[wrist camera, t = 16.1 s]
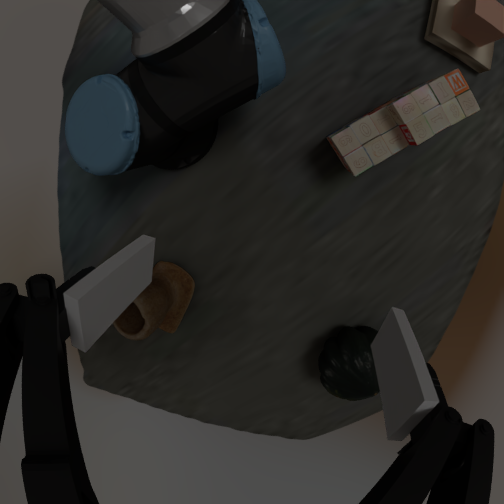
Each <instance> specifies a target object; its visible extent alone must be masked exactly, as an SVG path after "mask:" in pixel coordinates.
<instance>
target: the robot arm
mask: <svg viewBox="0 0 504 504" xmlns="http://www.w3.org/2000/svg"><path fill="white" fill-rule="evenodd" d="M97 1H99V2H100V3H101V4H102V5H103V6H104V7H105V8H106V9H108V10H109V11H110V12H111V13H112V14H113V15H114V16H115V17H116V18H118V19H119V20H120V21H121V22H122V23H123V24H124V25H125V26H126V27H127V28H128V29H129V30H130V31H131V32H132V44H131V52H132V54H133V55H134V56H135V57H136V58H137V59H136V60H134V61H133V62H132V63H130V64H129V65H128V66H127V67H125V68H124V69H123V70H122V71H120V72H119V73H118V74H116V75H112V74H104V75H99V76H94V77H92V78H90V79H88V80H87V81H85V82H84V83H83V84H82V85H81V86H80V87H79V88H78V89H77V90H76V92H75V93H74V95H73V97H72V99H71V101H70V103H69V106H68V109H67V113H66V124H65V137H66V142H67V146H68V149H69V151H70V153H71V155H72V157H73V159H74V160H75V162H76V163H77V164H78V165H79V166H80V167H81V168H82V169H83V170H85V171H86V172H89V173H92V174H93V175H99V176H103V175H118V174H120V173H123V172H124V171H128V170H131V169H135V168H139V167H143V166H147V165H153V166H156V167H158V168H162V169H168V170H174V169H180V168H184V167H188V166H190V165H192V164H194V163H196V162H198V161H199V160H200V159H202V158H203V157H204V156H205V155H206V154H207V152H208V151H209V150H210V148H211V147H212V145H213V143H214V140H215V137H216V134H217V127H218V120H217V118H218V117H220V116H222V115H224V114H226V113H228V112H229V111H231V110H233V109H235V108H237V107H239V106H241V105H243V104H245V103H246V102H248V101H250V100H252V99H254V100H255V99H258V97H260V95H261V94H263V93H265V92H266V91H268V90H270V89H272V88H274V87H276V86H278V85H279V84H280V83H281V82H282V81H283V79H284V77H285V74H286V65H285V60H284V56H283V53H282V50H281V47H280V44H279V42H278V39H277V37H276V34H275V32H274V30H273V28H272V26H271V25H270V24H269V21H268V19H267V17H266V14H265V12H264V10H263V9H262V7H261V5H260V4H259V3H258V1H257V0H97ZM154 248H155V238H153V237H150V236H146V235H142V236H141V237H139V238H138V239H136V240H135V241H133V242H132V243H130V244H129V245H128V246H126V247H125V248H123V249H122V250H120V251H119V252H118V253H116V254H115V255H113V256H112V257H111V258H109V259H108V260H107V261H105V262H104V263H102V264H101V265H100V266H98V267H97V268H95V267H92V266H91V267H88V268H85V269H82V270H81V271H80V272H78V273H77V274H76V275H75V276H73V277H71V278H70V280H67V281H66V282H65V283H63V284H62V285H61V286H60V287H58V288H57V289H56V286H55V280H54V278H53V277H52V276H50V275H47V274H36V275H34V276H31V277H30V278H29V279H28V280H27V281H26V283H25V284H26V289H27V295H28V297H26V296H22V295H19V294H18V289H17V286H16V285H14V284H12V283H2V284H0V441H1V435H2V429H3V425H4V420H5V416H6V412H7V407H8V403H9V400H10V396H11V392H12V388H13V385H14V381H15V378H16V375H17V371H18V368H19V365H20V362H21V359H22V356H23V362H22V414H23V415H22V416H23V431H24V442H25V451H26V456H25V458H23V459H22V462H21V467H22V468H21V469H22V475H23V482H24V487H25V492H26V497H27V501H28V504H99V502H98V500H97V497H96V495H95V493H94V491H93V489H92V486H91V483H90V480H89V477H88V473H87V470H86V466H85V462H84V458H83V454H82V451H81V446H80V442H79V437H78V432H77V428H76V422H75V417H74V411H73V404H72V398H71V391H70V383H69V374H68V364H67V353H66V343H65V340H66V339H67V338H68V337H69V336H70V337H71V343H72V346H74V347H76V348H78V349H80V350H81V351H83V352H85V353H86V352H87V351H88V349H89V348H90V347H91V346H92V345H93V344H94V343H95V342H96V341H97V339H98V338H99V337H100V336H101V335H102V334H103V333H104V332H105V331H106V330H107V328H108V327H109V326H110V325H111V324H112V323H113V322H114V321H115V320H116V319H117V318H118V317H119V315H120V314H121V313H122V312H123V311H124V310H125V309H126V308H127V307H128V306H129V305H130V304H131V303H132V302H133V301H134V300H135V299H136V297H137V296H138V295H139V294H140V293H141V292H142V291H143V290H144V289H145V288H146V287H147V286H148V285H149V284H150V283H151V282H152V270H153V259H154ZM371 349H372V354H373V359H374V363H375V368H376V373H377V378H378V384H379V389H380V394H381V400H382V406H383V411H384V418H385V424H386V430H387V438H388V440H396V441H402V440H403V439H404V438H405V437H406V436H407V435H408V434H410V436H411V441H410V442H409V443H407V445H405V446H404V447H403V448H402V449H401V450H400V451H399V452H398V454H399V456H398V457H397V458H396V460H395V461H394V462H393V464H392V465H391V466H390V467H389V469H388V470H387V471H386V473H385V474H384V475H383V476H382V477H381V479H380V480H379V481H378V482H377V483H376V485H375V486H374V487H373V488H372V489H371V491H370V492H369V493H368V494H367V495H366V496H365V497H364V498H363V499H362V500H361V502H360V503H359V504H422V503H423V501H424V500H425V498H426V497H427V495H428V493H429V491H430V490H431V491H430V495H429V497H428V501H427V504H489V498H490V491H491V483H492V472H493V459H494V430H493V427H492V425H491V424H490V423H489V422H488V421H486V420H484V419H478V420H477V421H476V422H475V423H474V424H473V425H470V424H467V423H464V422H463V421H462V417H461V415H460V414H459V412H457V411H456V409H454V408H452V407H448V405H447V402H446V399H445V396H444V394H443V391H442V388H441V387H440V383H439V380H438V377H437V375H436V372H435V371H434V369H433V368H432V367H431V365H430V364H429V363H425V361H424V358H423V355H422V353H421V350H420V348H419V345H418V343H417V341H416V338H415V336H414V333H413V331H412V329H411V326H410V324H409V322H408V320H407V317H406V315H405V313H404V311H403V310H402V309H398V308H394V307H391V309H390V311H389V313H388V315H387V317H386V319H385V320H384V322H383V324H382V326H381V328H380V330H379V331H378V333H377V335H376V337H375V339H374V340H373V342H372V344H371Z"/></svg>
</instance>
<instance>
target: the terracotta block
mask: <svg viewBox="0 0 504 504" xmlns="http://www.w3.org/2000/svg"><path fill="white" fill-rule="evenodd" d="M451 29H452V30H454V31H455V32H457V33H459V34H460V35H462V36H463V37H465V38H466V39H468V40H469V41H471V42H472V43H474V44H475V45H477V46H478V47H482V46H484V45H487V44H489V43H491V42H494V41H496V40H499V39H501V38H503V37H504V6H503V5H501V4H500V3H499V2H497V1H496V0H460V1H459V2H458V3H457V4H455V7H454V13H453V20H452V25H451Z"/></svg>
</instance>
